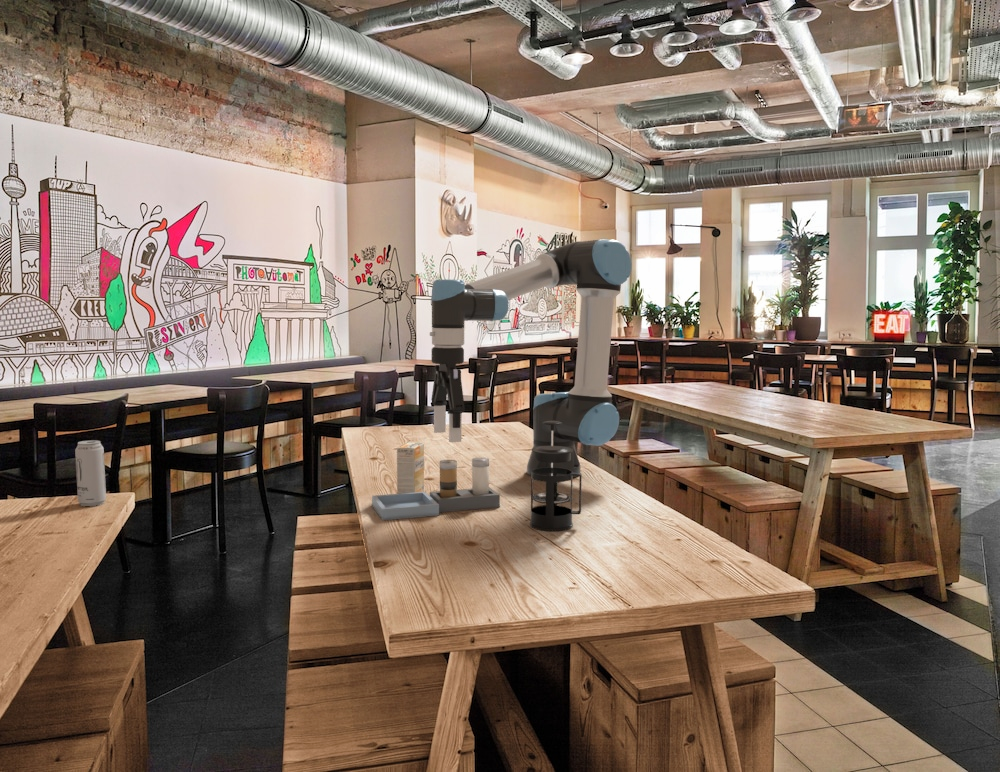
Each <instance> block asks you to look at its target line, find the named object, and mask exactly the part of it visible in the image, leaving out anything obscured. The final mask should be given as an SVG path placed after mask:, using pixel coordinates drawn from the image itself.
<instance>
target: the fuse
mask: <svg viewBox="0 0 1000 772" xmlns="http://www.w3.org/2000/svg"><path fill="white" fill-rule="evenodd" d="M471 468H472V469H471V470H472V471H471V474H472V475H471V482H472V483H471V487H472V488H471V489H472V494H473V495H483V494H489V487H490V459H489V458H488V457H473V458H472V459H471Z"/></svg>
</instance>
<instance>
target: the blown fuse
mask: <svg viewBox="0 0 1000 772" xmlns="http://www.w3.org/2000/svg"><path fill="white" fill-rule="evenodd" d="M457 469H458V461H457V460H455V459H442V460H439V491H440V498H445V497H457V490H458V474H457V473H458V470H457Z"/></svg>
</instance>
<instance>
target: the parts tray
mask: <svg viewBox="0 0 1000 772" xmlns="http://www.w3.org/2000/svg"><path fill="white" fill-rule="evenodd" d="M371 506H372V508H373V510H375V512H376V513H377V515H378V517H380V519H381V520H382V521H391V520H400V519H413V518H414V519H415V518H425V517H436V516H439V515H440V512H439V504H438V503H437V502H436V501H435V500H434V499H433V498H431V497H430V494H428V493H427V491H424V492H414V493H401V494H397V493H392V494H389V493H388V494H376V495H371Z"/></svg>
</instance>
